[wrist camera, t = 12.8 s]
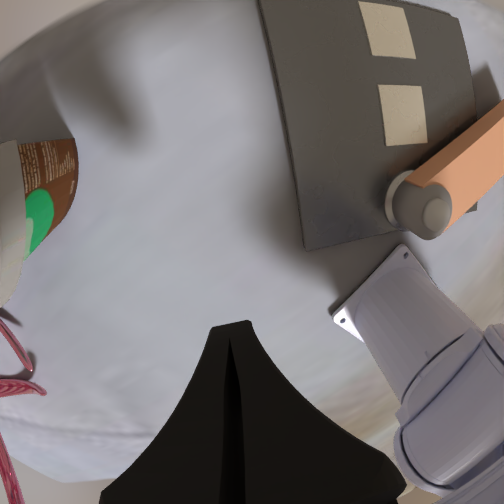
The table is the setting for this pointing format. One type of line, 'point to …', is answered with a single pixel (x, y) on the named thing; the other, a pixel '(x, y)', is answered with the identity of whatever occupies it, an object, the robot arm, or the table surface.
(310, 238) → the label plate
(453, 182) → the swing bar
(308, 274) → the table surface
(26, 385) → the spiral basket
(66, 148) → the food container
